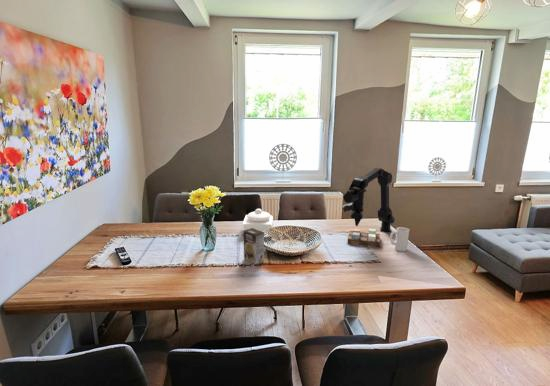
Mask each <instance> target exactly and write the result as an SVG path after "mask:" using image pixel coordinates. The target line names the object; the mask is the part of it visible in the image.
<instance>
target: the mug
mask: <svg viewBox="0 0 550 386" xmlns="http://www.w3.org/2000/svg"><path fill="white" fill-rule="evenodd" d="M393 235H395V240H394V241H393ZM409 235H410V228H408V227H403V226H400V227H399V226H398V227H396V230H391V232H390V236H389V240H390V243H391V245H392V246H393V245H394V249H395V250H396V251H399V252H406V251H407V249H408V244H409Z"/></svg>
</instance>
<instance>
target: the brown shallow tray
mask: <svg viewBox="0 0 550 386" xmlns="http://www.w3.org/2000/svg"><path fill="white" fill-rule="evenodd" d="M352 234H353V230H349V232H348V235H347V242H346V243H347V245H354V246H360V245H361V247H363V246H364V247H372V248H380V244H381V239H380V238H381V235H380V233H376V239H375V242H374V241H368V234H369V232H364V231H363V232H362V231H360V238H359V240H356V239H352Z"/></svg>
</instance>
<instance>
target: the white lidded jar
mask: <svg viewBox="0 0 550 386" xmlns="http://www.w3.org/2000/svg"><path fill="white" fill-rule="evenodd" d="M242 227H243V231H244V230H247V229H251V228H254V229H256V230H259V231H262V232H263V231H264V230H266V229H270V228H272V227H273V228H274V216H273V215H271V214H270V213H269V212H267V211H263V210H262V209H261V208H256V209H255V210H254V211H251V212H249V213H248V214H245V217H244V219H243V222H242Z"/></svg>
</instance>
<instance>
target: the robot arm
mask: <svg viewBox="0 0 550 386" xmlns="http://www.w3.org/2000/svg"><path fill="white" fill-rule="evenodd" d="M375 179H377V183H378V184H379V186H380V208H379V210H377V218H378V221H380V222H381V226H380V228H379V230H380V232H384V233H392V230H391V229H392V227H391V224H394V223H395V221H396V219H395V217H394V215H393V211H392V209H391V208H390V185H391V183H392V181H393V174H392V173H391V172H388V171H386V170H385V169H383V168H381V167H374V168H373V169H371V171H369V172H368V173H366V174H364V175H362V176H357V177H355V178H353V180H352V182H351V183H350V186H349V187H348V190H346V193H345V192H344V195H343V197H342V198H343V201H344V202H345V204H343V206H342V210H343V213H347V212H350V211H351V214H350V218H351V219H354V224H355V227H358V226H359V224H360V222H361V221H362V220H363V217H364V213H363V212H364V208H365V207H364V199H365V193H367V190H366V188H367V187H368V186H369V183H370V182H372V181H374V180H375Z"/></svg>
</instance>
